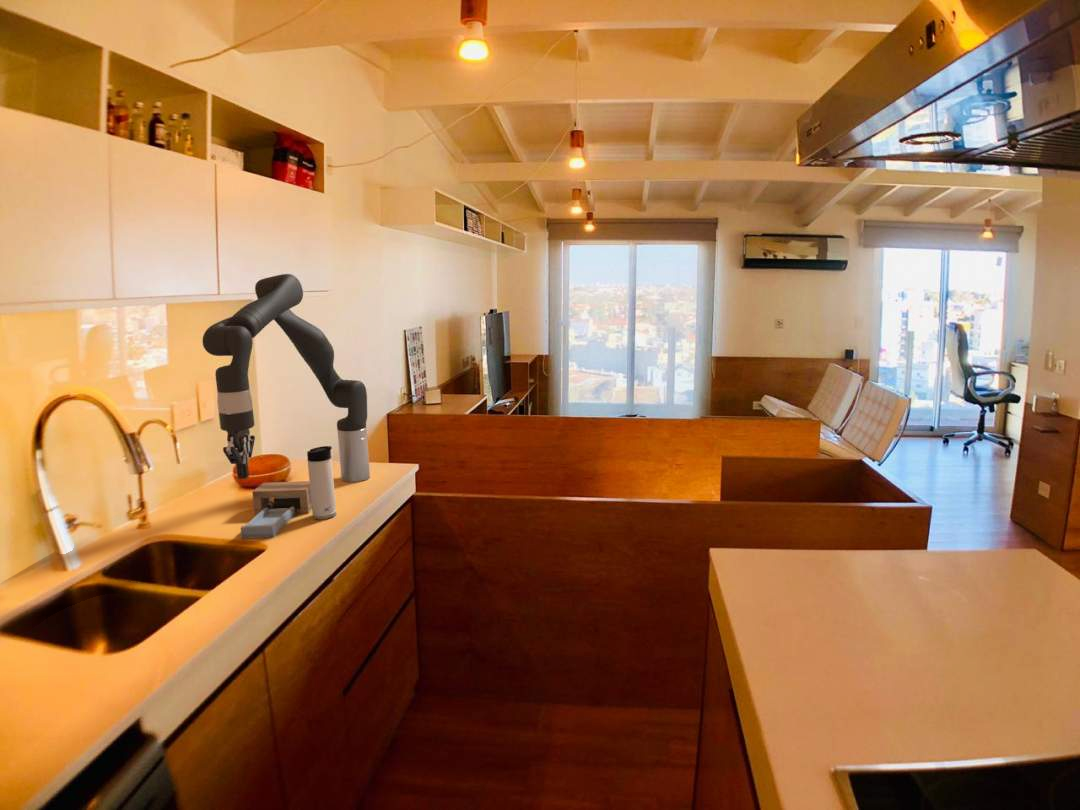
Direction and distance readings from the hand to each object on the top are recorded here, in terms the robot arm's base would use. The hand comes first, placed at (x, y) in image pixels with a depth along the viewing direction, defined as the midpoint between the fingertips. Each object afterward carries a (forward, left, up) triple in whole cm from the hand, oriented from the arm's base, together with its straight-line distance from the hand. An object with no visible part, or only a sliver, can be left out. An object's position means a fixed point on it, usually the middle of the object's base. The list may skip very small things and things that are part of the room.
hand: (243, 477), depth 155 cm
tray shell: (-12, 0, -17) cm, 21 cm away
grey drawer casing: (-25, 0, -17) cm, 30 cm away
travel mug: (-18, +13, -18) cm, 29 cm away
